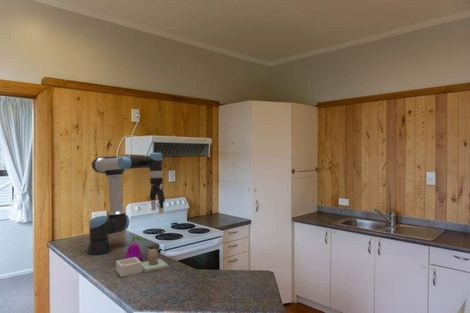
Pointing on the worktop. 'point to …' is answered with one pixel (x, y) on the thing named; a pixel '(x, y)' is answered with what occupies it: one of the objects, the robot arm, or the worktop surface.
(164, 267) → the mat
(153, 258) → the lid
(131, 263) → the white open box
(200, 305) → the worktop surface
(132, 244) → the magenta low-poly plum
